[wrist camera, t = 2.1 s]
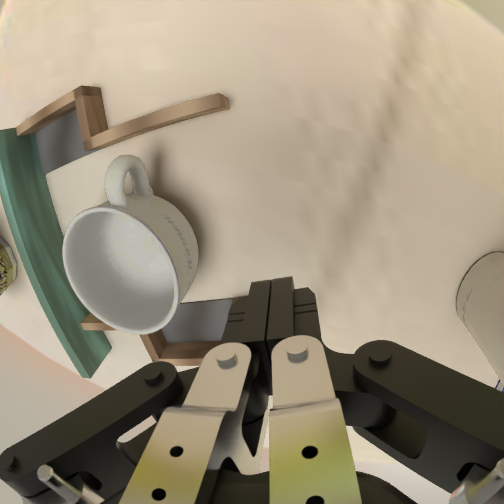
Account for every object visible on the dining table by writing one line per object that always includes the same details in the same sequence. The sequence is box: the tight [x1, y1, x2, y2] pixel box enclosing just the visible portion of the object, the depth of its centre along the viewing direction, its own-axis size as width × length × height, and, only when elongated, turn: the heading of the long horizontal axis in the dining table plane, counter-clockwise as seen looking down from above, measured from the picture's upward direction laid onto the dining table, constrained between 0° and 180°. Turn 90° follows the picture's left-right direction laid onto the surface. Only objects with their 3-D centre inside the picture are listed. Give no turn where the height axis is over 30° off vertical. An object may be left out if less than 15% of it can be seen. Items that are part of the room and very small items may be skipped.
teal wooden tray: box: [0, 86, 238, 379], centre depth 25 cm, size 23×29×6 cm
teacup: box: [62, 155, 199, 335], centre depth 23 cm, size 14×11×8 cm
